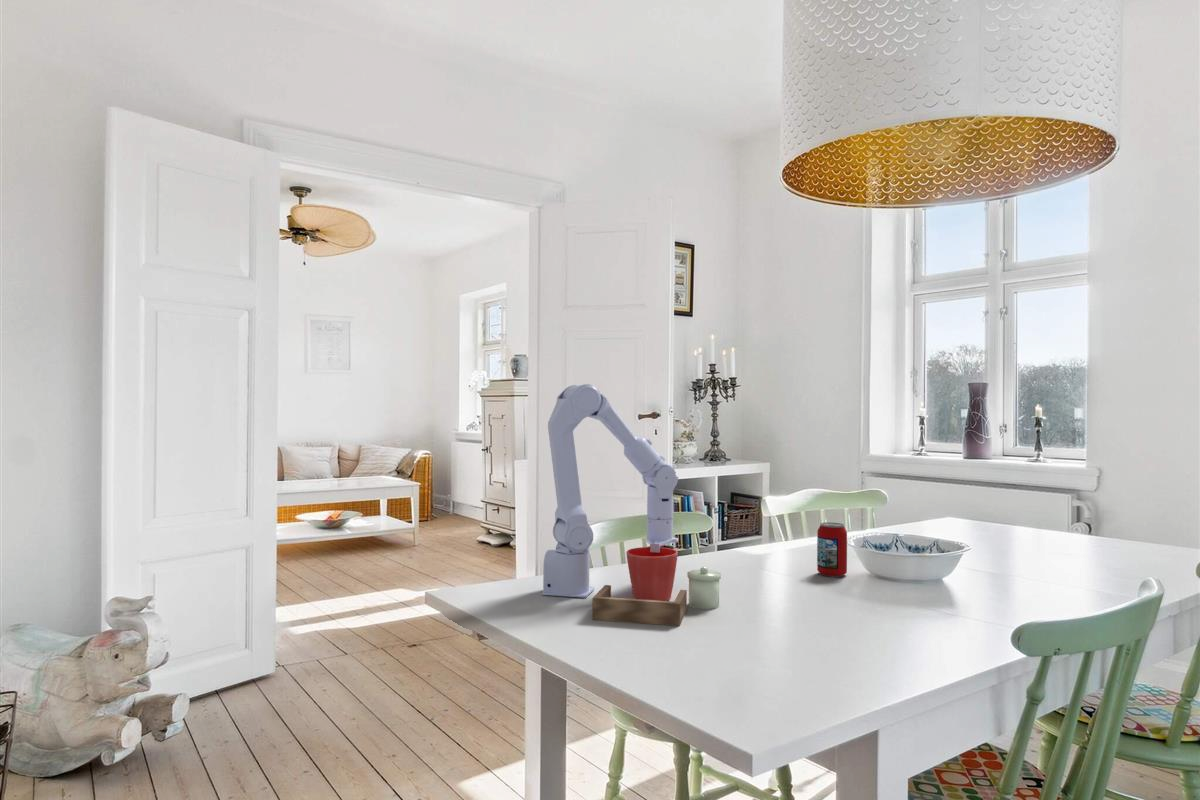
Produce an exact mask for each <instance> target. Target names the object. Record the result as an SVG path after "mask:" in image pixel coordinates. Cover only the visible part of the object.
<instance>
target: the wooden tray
mask: <svg viewBox="0 0 1200 800" xmlns="http://www.w3.org/2000/svg"><path fill="white" fill-rule="evenodd" d="M687 594H688V593H687V589H679V591H678V593H677V595H676V598H675V599H674V600H668V601H658V600H642V599H635V598H624V597H612V585H610V584H604V586H602V588H601V589H600V590H598V591H597V592H596V594H594V596H593V597H592V602H591V603H592V607H591V608H592V610H591V611H592V615H591V616H592V617H591V618H592V619H591V620H593V621H605V622H617V623H619V622H621V623H622V622H623V623H633V624H634V623H635V624H647V625H648V624H649V625H660V626H661V625H663V626H675V627H676V626H677V627H680V626H681V624H682V622H683V620H684V618H685V615H686V613H687V605H688V603H687V602H688V601H687V598H688V597H687V596H688V595H687Z"/></svg>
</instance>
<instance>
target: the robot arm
mask: <svg viewBox="0 0 1200 800" xmlns="http://www.w3.org/2000/svg"><path fill="white" fill-rule="evenodd" d="M608 399H609V398H607V397H606V396H605V395H604V394H602V393H601V392H600V390H599V389H598V388H597V387H596V386H595V385H593V384H589V383H583V384H579V385H576V384H575V385H574V384H573V385H569V386H567V387H566V388H564V390H562V391H561V393H559V395H558V396H557V397H556V403H555V405H554V408H553V409H552V412H551V415H550V417H549V420H548V422H547V430H548V437H549V438H548V439H549V447H550V454H551V462H552V469H553V470H552V472H553V480H554V488H555V494H556V495H555V497H556V504H557V507H556V509H555V511H554V525H553V528H552V535H553V538H554V539H555V541H556V542H557V544H556V546H555V549H548V550H546V552H545V554H544V558H543V565H542V566H543V570H542V571H543V572H542V573H543V579H542V580H543V581H542V583H543V588H542V590H543V591H542V593H541V595H543V596H555V597H568V598H569V597H571V598H583V599H584V598H587V597H588V596H590V594H591V593H592V592H593V591H594V590H595V586H590V547H591V545H592V544H593V541H594V532H593V529H592V527H591V526H590V524H589V523H588V518H587V516H588V515H587V513H586V511H585V509H584V507H583V504H582V496H581V494H582V493H581V487H580V479H579V478H580V477H579V469H578V462H577V454H576V447H575V446H576V445H575V438H574V430H575V429H576V428H577V427H578V426H579V424H581V422H582V421H583V420H584V419H586V418H590V419H595V420H598V421H600V422H601V423H602V424H603V426H604V427H605V428H606V429H608V430H609V432H610V433H611V434H612V435H613V436H614V437H615V438H616V439H617V440H618V441H619V442H620V444H621V445H623V455H624V456H625V457H626V459H627V460H628V461H629V462H630V463H631V464H632V465H633V467H634V468H635V469H636V470H637V471H638V472H639V474H640V475H641V476H642V481H643V483H644V484H645V485H647V488H646V489H647V490H646V491H647V495H646V497H647V501H646V502H647V504H646V508H647V509H646V513H647V514H646V537H645V541H646V543H648V545H649V546H648V547H650V552H657V553H659V552H660V547H663V548H670V549H674V546H673V545H669V544H674V543H678V542H679V538H678V537H674V489H675V488H676V487H677V484H678V481H679V476H677V475H676V471H675V469H674V467H673V466H671V465H669V464H665V461H666V459H665V457H664V456H660V454H658V452H657V451H656V450H655V449H654V447H652V445H653V441H651V440H650V439H646V438H645V437H644V436H636V435H635V434H634V432H633V431H632V430H631V428H630V426H628V425H627V424H626V422H625V420H623V418H622V417H621V415H619V413H618V411H617V410H615V408H614V407H613V406H612V404H611V403H610V401H609V400H608Z"/></svg>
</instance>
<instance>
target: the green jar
mask: <svg viewBox="0 0 1200 800" xmlns="http://www.w3.org/2000/svg"><path fill="white" fill-rule="evenodd" d="M686 574H687V575H686V576H687V578H688V606H689V608H692V609H697V610H715V609H718V608H719V607H720V580H721V579H722V574H721V572H719V571H717V570H710V569H708V567H706V566H701V567H700V569H694V570H689V571H687V573H686Z"/></svg>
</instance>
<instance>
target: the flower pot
mask: <svg viewBox="0 0 1200 800" xmlns="http://www.w3.org/2000/svg"><path fill="white" fill-rule="evenodd" d="M678 553H679V552H678V550H677V549H674V548H673V549H670V548H663V547H660V552H659V553H657V552H650V547H649V546H645V547H644V546H642V547H634V548H629V549H627V551H626V560H627V566H628V574H629V579H630V584H631V590H632V597H633V599H642V600H658V601H670V600H671V599H672V594H673V590H674V589H673V588H674V583H675V575H676V571H677V562H678V555H679V554H678Z"/></svg>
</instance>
